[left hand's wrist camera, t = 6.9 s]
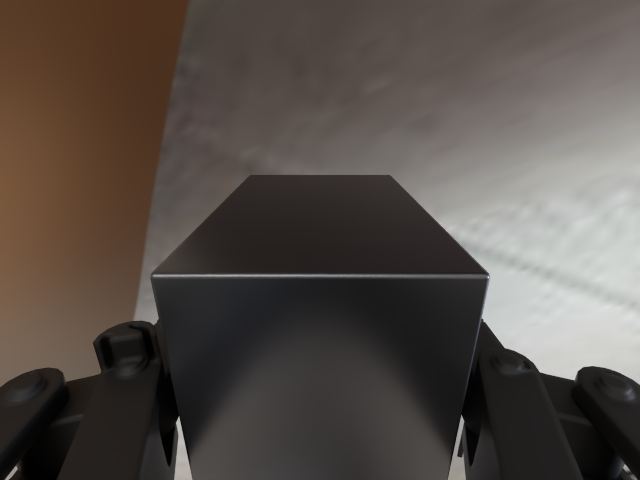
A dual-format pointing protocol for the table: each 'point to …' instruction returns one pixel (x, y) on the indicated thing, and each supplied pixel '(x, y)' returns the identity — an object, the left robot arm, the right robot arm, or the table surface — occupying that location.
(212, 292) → the box
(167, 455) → the left robot arm
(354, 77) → the table surface
